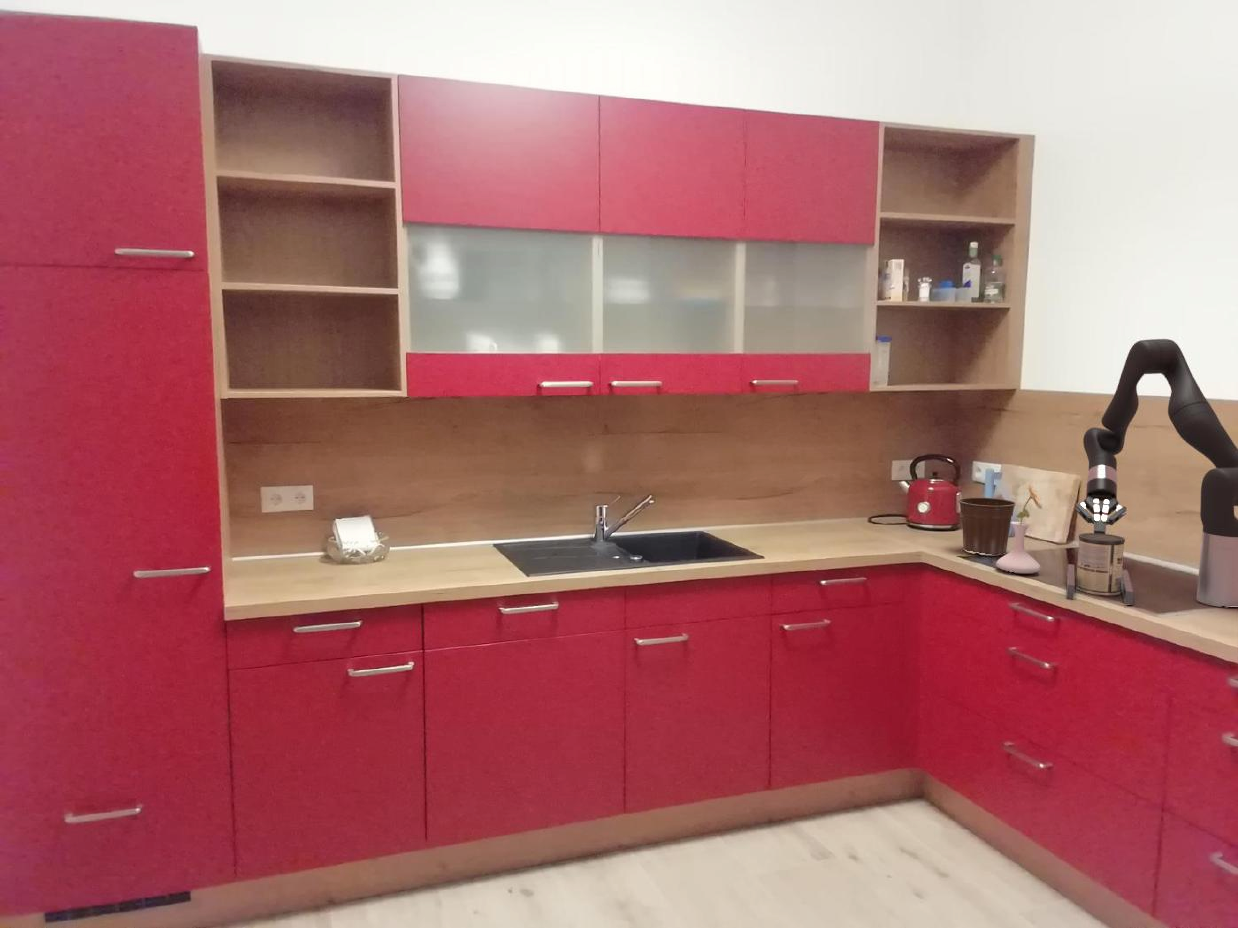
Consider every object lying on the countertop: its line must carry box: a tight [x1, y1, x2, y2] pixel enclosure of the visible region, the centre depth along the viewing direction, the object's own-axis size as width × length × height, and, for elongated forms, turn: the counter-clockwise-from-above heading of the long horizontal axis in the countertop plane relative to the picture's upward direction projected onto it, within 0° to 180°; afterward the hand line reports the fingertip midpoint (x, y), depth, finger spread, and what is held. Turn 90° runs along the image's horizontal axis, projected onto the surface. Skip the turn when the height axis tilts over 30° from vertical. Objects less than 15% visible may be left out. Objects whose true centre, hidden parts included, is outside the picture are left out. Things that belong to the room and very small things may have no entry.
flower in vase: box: [995, 482, 1044, 575], centre depth 241 cm, size 13×11×25 cm
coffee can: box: [1075, 532, 1126, 597], centre depth 221 cm, size 10×10×14 cm
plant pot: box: [957, 497, 1017, 555], centre depth 266 cm, size 16×16×16 cm
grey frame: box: [1066, 563, 1135, 606], centre depth 222 cm, size 14×26×4 cm, turn 152°
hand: (1099, 534), depth 236 cm, fingers closed
